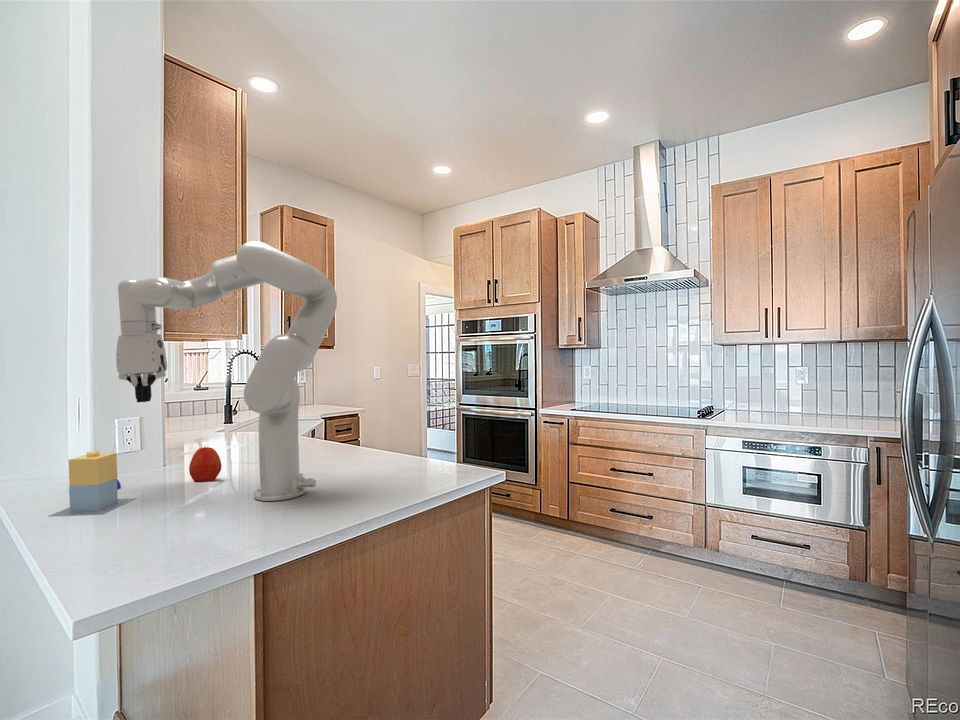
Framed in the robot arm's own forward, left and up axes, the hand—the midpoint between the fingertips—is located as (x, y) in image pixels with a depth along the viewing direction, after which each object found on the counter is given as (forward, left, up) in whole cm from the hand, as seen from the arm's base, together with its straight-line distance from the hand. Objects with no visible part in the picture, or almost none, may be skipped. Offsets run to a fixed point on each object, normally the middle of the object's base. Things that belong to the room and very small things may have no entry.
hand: (143, 401), depth 126 cm
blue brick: (+7, +9, -24) cm, 26 cm away
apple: (-7, -15, -25) cm, 30 cm away
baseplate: (+7, +9, -25) cm, 27 cm away
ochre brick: (+7, +9, -18) cm, 21 cm away
